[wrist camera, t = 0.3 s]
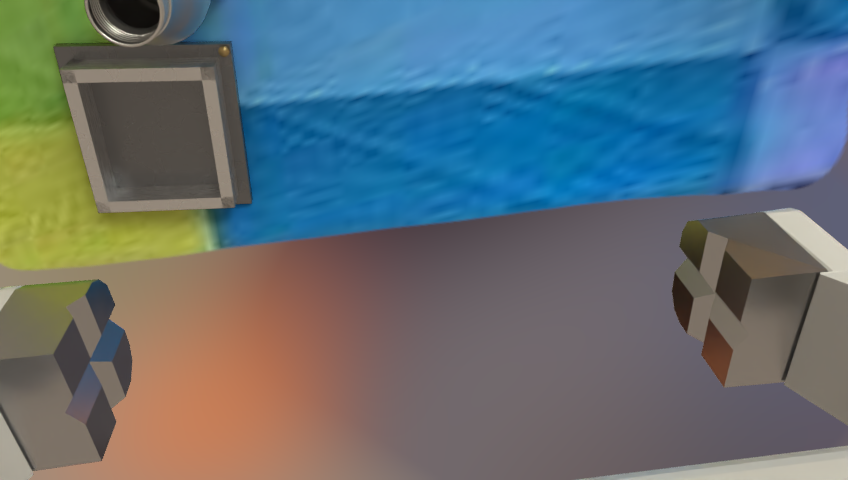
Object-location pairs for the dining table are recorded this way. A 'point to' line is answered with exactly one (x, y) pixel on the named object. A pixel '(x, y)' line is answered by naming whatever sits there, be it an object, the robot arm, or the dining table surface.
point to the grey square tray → (158, 124)
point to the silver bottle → (146, 20)
